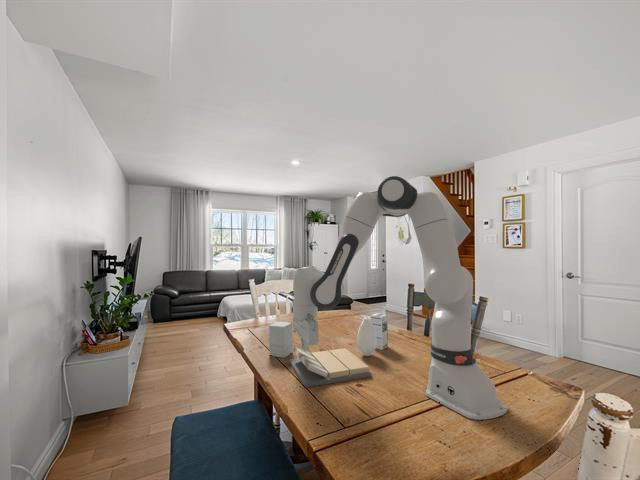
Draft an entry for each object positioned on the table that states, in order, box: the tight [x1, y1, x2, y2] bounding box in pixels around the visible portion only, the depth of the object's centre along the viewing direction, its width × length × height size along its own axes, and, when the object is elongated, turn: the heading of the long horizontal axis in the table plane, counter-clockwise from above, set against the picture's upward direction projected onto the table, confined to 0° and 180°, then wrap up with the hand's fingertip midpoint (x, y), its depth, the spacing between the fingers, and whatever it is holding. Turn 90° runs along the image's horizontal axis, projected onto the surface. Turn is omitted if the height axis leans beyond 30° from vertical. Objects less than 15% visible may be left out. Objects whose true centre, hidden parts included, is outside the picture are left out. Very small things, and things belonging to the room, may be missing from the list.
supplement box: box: [268, 321, 293, 358], centre depth 126 cm, size 7×7×13 cm
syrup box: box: [369, 312, 389, 351], centre depth 134 cm, size 6×6×14 cm
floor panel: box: [288, 348, 372, 388], centre depth 110 cm, size 22×24×3 cm
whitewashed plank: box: [292, 345, 328, 377], centre depth 108 cm, size 20×7×2 cm, turn 20°
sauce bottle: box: [356, 311, 377, 357], centre depth 124 cm, size 8×8×18 cm
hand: (305, 349), depth 108 cm, fingers closed
